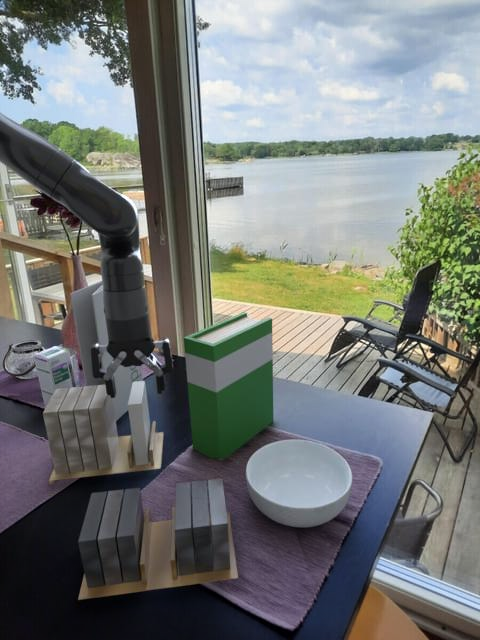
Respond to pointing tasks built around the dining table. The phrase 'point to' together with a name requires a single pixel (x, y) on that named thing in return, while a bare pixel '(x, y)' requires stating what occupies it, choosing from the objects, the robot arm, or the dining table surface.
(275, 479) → the cereal bowl
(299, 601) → the dining table surface
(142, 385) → the white book
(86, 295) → the grey box
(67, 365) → the syrup box
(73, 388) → the beige rack
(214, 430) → the hardback book
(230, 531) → the grey rack
